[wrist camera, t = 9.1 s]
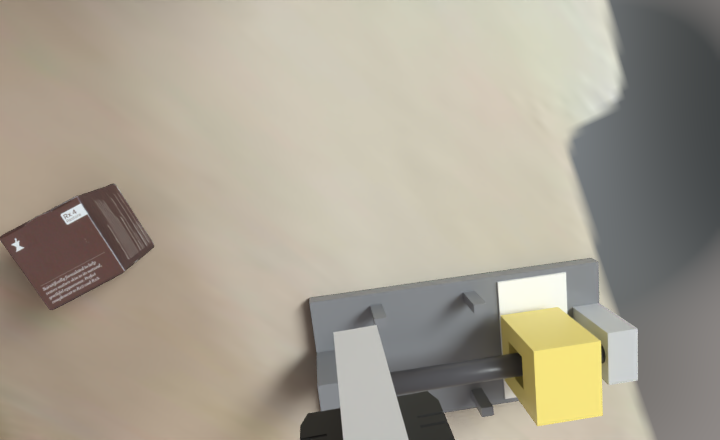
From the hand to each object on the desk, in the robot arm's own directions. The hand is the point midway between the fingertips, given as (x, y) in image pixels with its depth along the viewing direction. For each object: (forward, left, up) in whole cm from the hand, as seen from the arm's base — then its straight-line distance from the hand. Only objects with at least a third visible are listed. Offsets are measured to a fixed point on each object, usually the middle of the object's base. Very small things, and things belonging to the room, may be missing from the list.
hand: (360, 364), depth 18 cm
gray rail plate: (+13, +10, -26) cm, 31 cm away
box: (-1, -18, -27) cm, 32 cm away
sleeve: (+13, +15, -24) cm, 31 cm away
